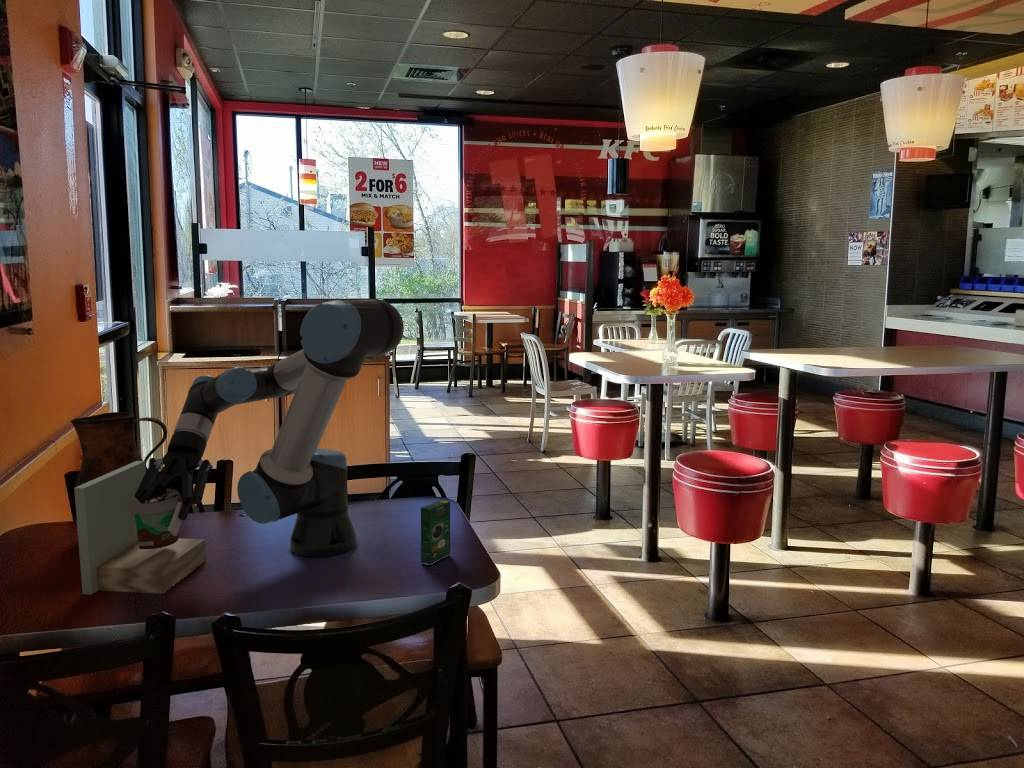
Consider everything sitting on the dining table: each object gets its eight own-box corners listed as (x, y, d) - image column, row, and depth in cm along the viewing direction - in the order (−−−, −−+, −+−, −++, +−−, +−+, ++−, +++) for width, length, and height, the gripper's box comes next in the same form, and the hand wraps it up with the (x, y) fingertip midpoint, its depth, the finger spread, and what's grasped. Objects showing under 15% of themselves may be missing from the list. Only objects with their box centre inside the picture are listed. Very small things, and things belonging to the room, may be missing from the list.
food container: (161, 553, 162) (159, 506, 161) (134, 551, 163) (131, 504, 162) (196, 533, 174) (193, 489, 173) (170, 531, 175) (168, 487, 174)
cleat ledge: (206, 560, 178) (204, 539, 178) (163, 593, 161) (162, 569, 160) (146, 558, 180) (145, 537, 179) (98, 590, 162) (96, 566, 161)
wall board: (151, 555, 182) (145, 461, 178) (92, 594, 160) (83, 488, 157) (142, 554, 182) (136, 460, 178) (82, 594, 160) (74, 487, 157)
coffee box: (441, 553, 184) (440, 498, 182) (451, 555, 182) (451, 500, 180) (419, 564, 177) (419, 507, 175) (430, 566, 175) (429, 509, 173)
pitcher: (89, 527, 200) (81, 410, 196) (180, 522, 205) (173, 407, 200) (67, 550, 184) (57, 423, 180) (166, 544, 189) (158, 419, 184)
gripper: (237, 448, 180) (207, 542, 167) (155, 445, 182) (119, 538, 169) (226, 430, 174) (193, 526, 161) (141, 427, 176) (102, 522, 163)
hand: (155, 532), depth 165 cm, fingers closed on food container, 6 cm apart
